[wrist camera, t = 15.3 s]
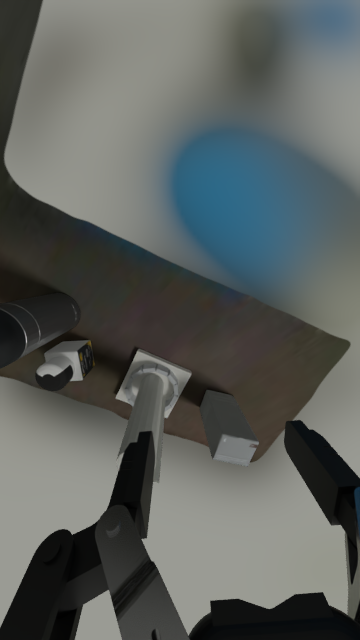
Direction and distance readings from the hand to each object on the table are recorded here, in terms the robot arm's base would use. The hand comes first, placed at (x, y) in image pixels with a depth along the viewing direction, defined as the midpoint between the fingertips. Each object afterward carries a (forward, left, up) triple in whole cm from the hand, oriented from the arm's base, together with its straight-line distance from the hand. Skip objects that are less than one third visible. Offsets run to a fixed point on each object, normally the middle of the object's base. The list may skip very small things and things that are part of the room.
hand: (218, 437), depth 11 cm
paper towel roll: (-10, -19, -35) cm, 41 cm away
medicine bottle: (-28, -9, -36) cm, 47 cm away
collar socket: (-10, -19, -36) cm, 42 cm away
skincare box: (+7, -26, -36) cm, 45 cm away
